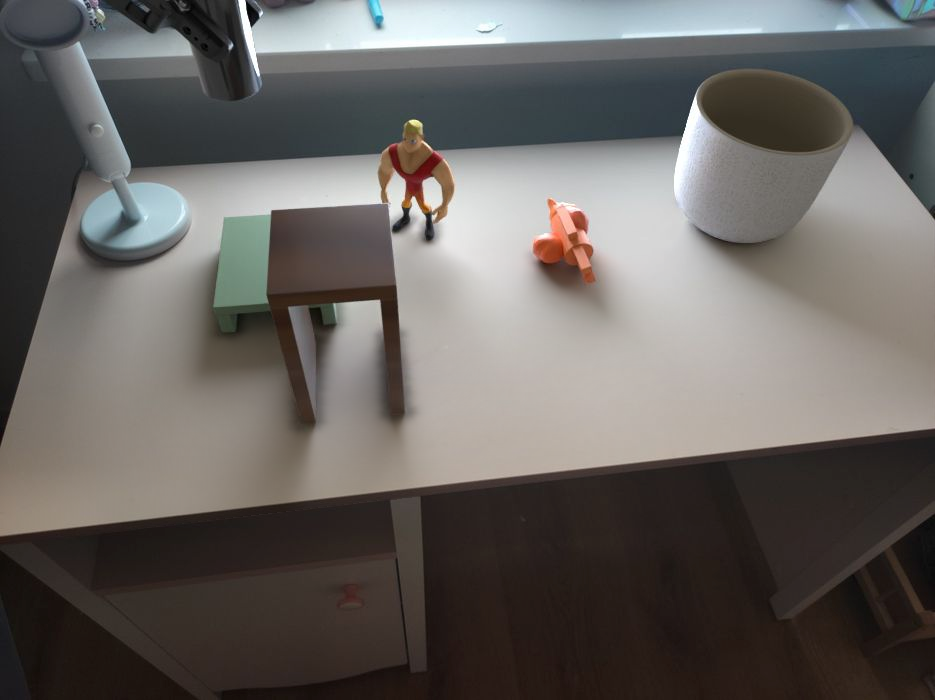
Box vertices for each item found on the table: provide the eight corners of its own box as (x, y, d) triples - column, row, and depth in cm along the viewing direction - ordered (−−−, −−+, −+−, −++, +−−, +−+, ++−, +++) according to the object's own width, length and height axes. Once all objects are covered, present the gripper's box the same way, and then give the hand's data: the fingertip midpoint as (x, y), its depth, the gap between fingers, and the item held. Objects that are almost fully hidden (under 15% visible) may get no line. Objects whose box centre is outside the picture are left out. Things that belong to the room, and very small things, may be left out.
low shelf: (336, 324, 76) (332, 298, 73) (222, 333, 75) (212, 307, 71) (334, 236, 85) (330, 210, 81) (231, 243, 83) (223, 217, 80)
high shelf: (405, 413, 69) (396, 285, 55) (301, 423, 68) (265, 294, 54) (397, 335, 75) (388, 202, 61) (302, 343, 74) (270, 209, 60)
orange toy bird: (609, 251, 76) (574, 183, 83) (543, 276, 77) (515, 205, 84) (614, 281, 80) (581, 212, 87) (552, 303, 81) (524, 234, 88)
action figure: (373, 227, 86) (363, 119, 74) (385, 210, 88) (377, 101, 76) (446, 247, 84) (447, 139, 72) (456, 229, 86) (459, 120, 74)
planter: (823, 252, 86) (885, 146, 74) (694, 270, 83) (737, 162, 71) (758, 168, 96) (804, 62, 84) (641, 181, 93) (671, 74, 81)
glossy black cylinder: (232, 108, 59) (201, -16, 51) (189, 88, 60) (153, -35, 52) (274, 82, 61) (250, -39, 54) (232, 64, 63) (204, -56, 55)
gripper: (-7, -166, 42) (226, 55, 50) (120, -224, 51) (301, -29, 59) (-39, -80, 47) (178, 110, 55) (82, -147, 56) (254, 24, 64)
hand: (241, 37), depth 57 cm, fingers closed on glossy black cylinder, 5 cm apart
